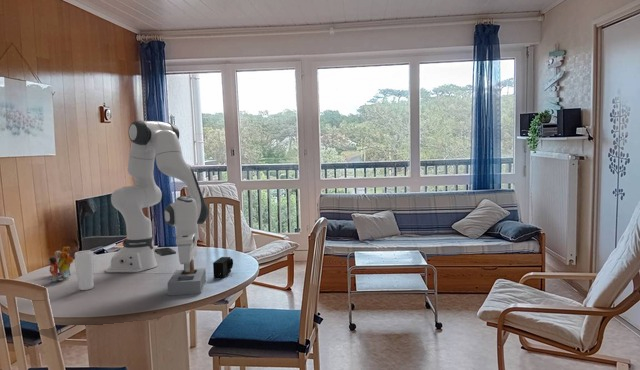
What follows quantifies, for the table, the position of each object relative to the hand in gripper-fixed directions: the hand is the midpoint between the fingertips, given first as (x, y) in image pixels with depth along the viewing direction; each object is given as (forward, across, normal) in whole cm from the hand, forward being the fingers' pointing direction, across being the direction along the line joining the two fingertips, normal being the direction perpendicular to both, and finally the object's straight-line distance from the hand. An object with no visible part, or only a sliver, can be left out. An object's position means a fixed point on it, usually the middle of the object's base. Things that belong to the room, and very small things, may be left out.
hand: (188, 269), depth 183 cm
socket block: (+6, +4, 0) cm, 8 cm away
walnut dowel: (+4, 0, 0) cm, 4 cm away
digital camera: (+6, -10, +13) cm, 18 cm away
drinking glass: (+6, -2, -41) cm, 42 cm away
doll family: (+6, -22, -57) cm, 61 cm away
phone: (+7, -62, -22) cm, 67 cm away
